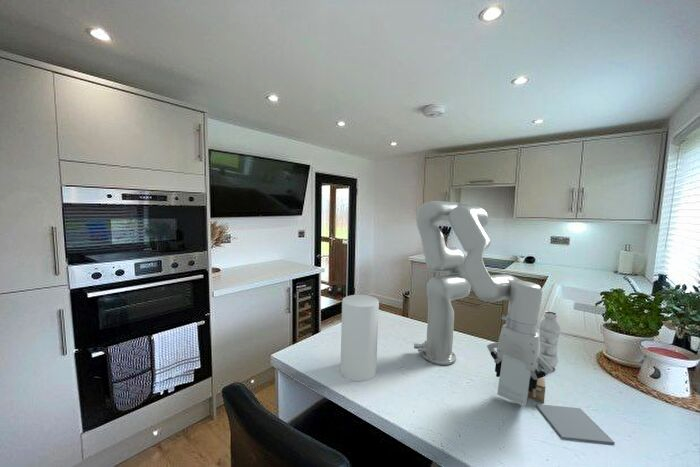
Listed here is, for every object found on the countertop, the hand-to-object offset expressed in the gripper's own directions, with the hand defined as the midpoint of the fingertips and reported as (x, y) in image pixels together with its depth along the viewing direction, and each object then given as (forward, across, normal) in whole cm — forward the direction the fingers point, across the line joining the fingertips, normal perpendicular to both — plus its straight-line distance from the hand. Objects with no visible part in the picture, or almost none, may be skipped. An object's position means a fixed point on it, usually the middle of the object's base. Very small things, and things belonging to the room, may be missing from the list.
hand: (514, 381), depth 82 cm
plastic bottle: (+7, +2, +33) cm, 34 cm away
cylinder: (+8, -42, -22) cm, 48 cm away
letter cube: (+7, +3, +9) cm, 12 cm away
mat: (+6, +14, +4) cm, 15 cm away
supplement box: (+4, 0, 0) cm, 4 cm away
